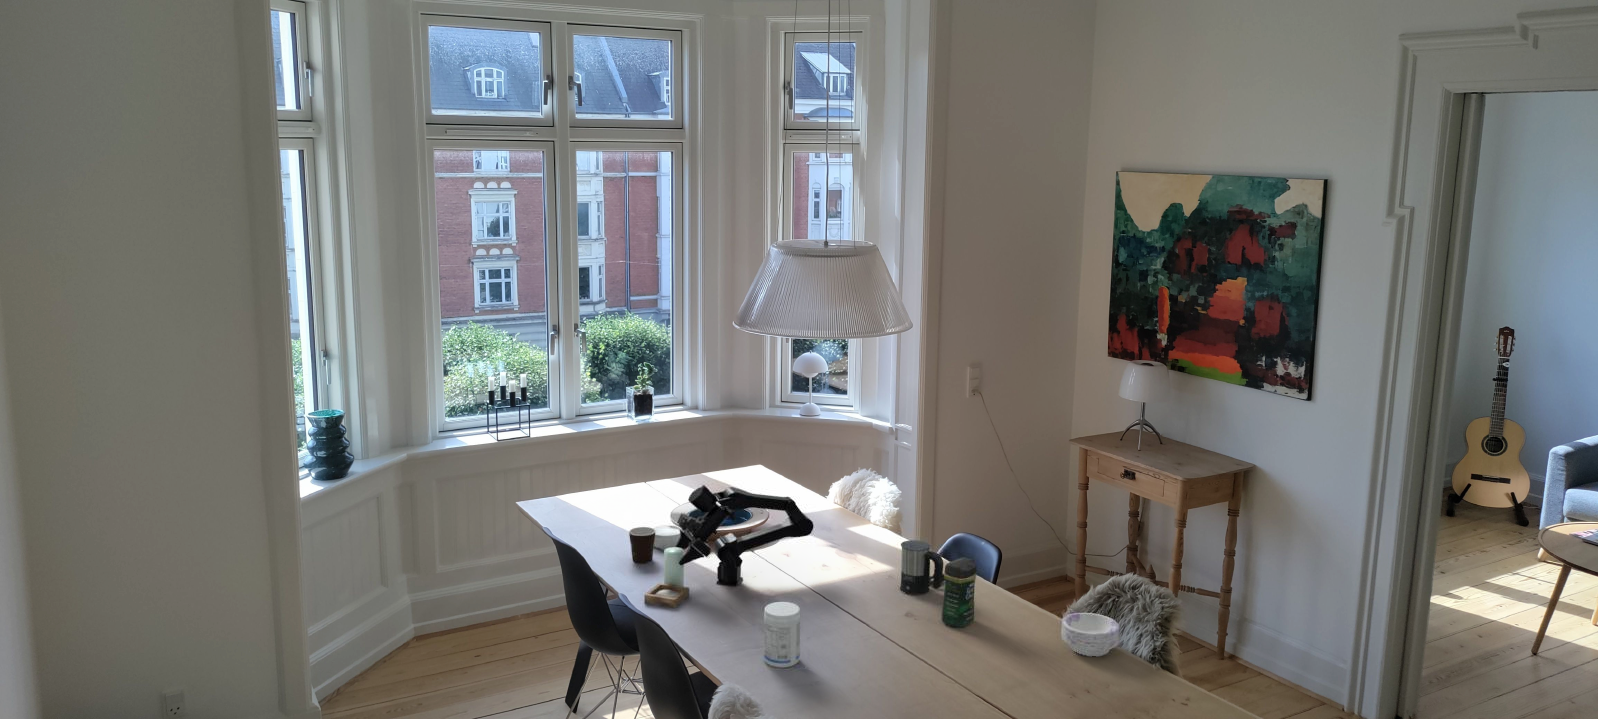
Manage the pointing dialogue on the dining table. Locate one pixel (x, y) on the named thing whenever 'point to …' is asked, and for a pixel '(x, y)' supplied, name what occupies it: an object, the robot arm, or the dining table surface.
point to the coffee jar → (959, 592)
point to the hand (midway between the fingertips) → (676, 559)
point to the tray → (666, 595)
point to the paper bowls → (1090, 633)
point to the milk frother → (919, 568)
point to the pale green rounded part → (673, 566)
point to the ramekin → (666, 536)
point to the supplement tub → (781, 634)
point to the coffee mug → (642, 544)
